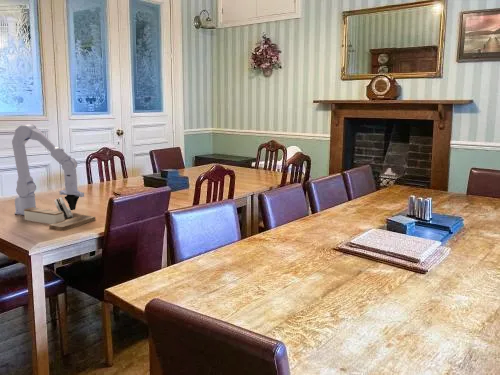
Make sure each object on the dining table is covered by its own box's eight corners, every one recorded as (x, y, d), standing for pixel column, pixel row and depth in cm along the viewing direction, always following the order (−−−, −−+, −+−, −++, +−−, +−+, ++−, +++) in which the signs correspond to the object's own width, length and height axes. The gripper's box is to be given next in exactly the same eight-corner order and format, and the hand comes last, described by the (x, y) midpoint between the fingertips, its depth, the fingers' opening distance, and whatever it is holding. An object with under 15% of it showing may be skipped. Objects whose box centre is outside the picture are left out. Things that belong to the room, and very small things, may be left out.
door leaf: (49, 228, 207) (48, 225, 206) (82, 218, 225) (82, 215, 224) (62, 230, 203) (62, 227, 203) (95, 219, 221) (95, 216, 221)
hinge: (73, 218, 224) (64, 199, 221) (64, 222, 222) (55, 204, 219) (70, 210, 239) (62, 193, 235) (61, 214, 237) (53, 197, 234)
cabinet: (24, 219, 221) (23, 209, 220) (33, 217, 225) (32, 207, 224) (55, 224, 212) (54, 214, 212) (64, 222, 217) (63, 211, 216)
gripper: (88, 182, 232) (89, 209, 235) (66, 180, 238) (68, 206, 241) (77, 185, 226) (79, 212, 228) (55, 182, 232) (57, 209, 235)
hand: (72, 209), depth 234 cm, fingers closed
